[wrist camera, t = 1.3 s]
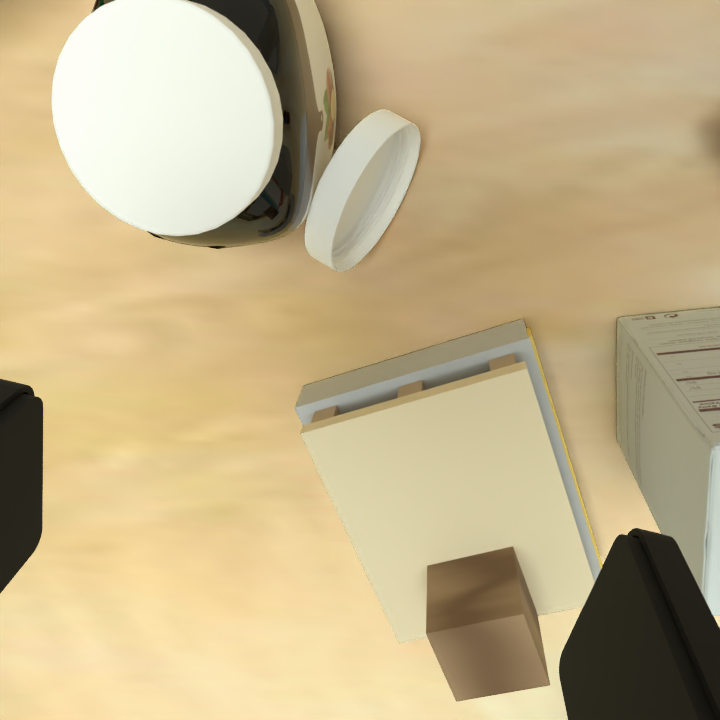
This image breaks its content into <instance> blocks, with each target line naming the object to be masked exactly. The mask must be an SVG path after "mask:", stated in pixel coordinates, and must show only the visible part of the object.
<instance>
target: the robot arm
mask: <svg viewBox="0 0 720 720" xmlns="http://www.w3.org/2000/svg"><path fill="white" fill-rule="evenodd" d="M42 490H43V402H42V400H41V399H40V398H39V397H35V396H34V391H33V389H32V388H31V387H30V386H28V385H24V384H20V383H16V382H11V381H7V380H3V379H0V593H1V592H2V591H3V589H4V588H5V587H6V586H7V584H8V583H9V582H10V581H11V580H12V578H13V577H14V576H15V575H16V573H17V572H18V571H19V570H20V568H21V567H22V566H23V565H24V563H25V562H26V561H27V560H28V558H29V557H30V556H31V555H32V554H33V552H34V551H35V549H36V547H37V545H38V543H39V540H40V538H41V534H42ZM559 675H560V681H561V686H562V691H563V696H564V701H565V706H566V711H567V716H568V720H720V629H719V627H718V625H717V623H716V621H715V619H714V617H713V615H712V613H711V611H710V609H709V607H708V604H707V602H706V600H705V598H704V596H703V594H702V592H701V590H700V588H699V586H698V584H697V582H696V580H695V578H694V576H693V574H692V572H691V570H690V568H689V566H688V564H687V562H686V560H685V558H684V556H683V554H682V552H681V550H680V548H679V546H678V544H677V542H676V541H675V539H674V538H673V537H671V536H668V535H663V534H659V533H655V532H651V531H646V530H642V529H638V528H635V529H632V530H631V531H630V532H629V533H628V535H623V534H621V535H619V536H618V537H617V538H616V539H615V541H614V543H613V545H612V547H611V549H610V552H609V554H608V556H607V558H606V560H605V562H604V564H603V566H602V568H601V571H600V573H599V575H598V577H597V579H596V581H595V583H594V585H593V588H592V590H591V592H590V594H589V596H588V598H587V600H586V602H585V605H584V607H583V609H582V611H581V613H580V615H579V617H578V619H577V622H576V624H575V626H574V628H573V630H572V632H571V634H570V636H569V639H568V641H567V643H566V645H565V647H564V649H563V651H562V654H561V658H560V664H559Z"/></svg>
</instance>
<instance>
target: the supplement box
mask: <svg viewBox="0 0 720 720" xmlns="http://www.w3.org/2000/svg"><path fill="white" fill-rule="evenodd" d="M617 442H618V444H619V446H620V448H621V450H622V452H623V454H624V456H625V459H626V461H627V463H628V465H629V467H630V469H631V471H632V473H633V475H634V477H635V479H636V481H637V483H638V486H639V488H640V490H641V492H642V494H643V496H644V498H645V500H646V502H647V504H648V507H649V509H650V511H651V513H652V515H653V517H654V519H655V521H656V523H657V526H658V528H659V530H660V532H661V534H663V535H668V536H671V537H673V538H674V539H675V541H676V542H677V544H678V546H679V548H680V550H681V552H682V554H683V556H684V558H685V560H686V562H687V564H688V566H689V568H690V570H691V572H692V574H693V576H694V578H695V580H696V582H697V584H698V586H699V588H700V590H701V592H702V594H703V596H704V598H705V600H706V602H707V604H708V607H709V609H710V611H711V613H712V615H713V616H720V307H718V308H708V309H696V310H685V311H676V312H665V313H655V314H645V315H635V316H626V317H620V318H618V320H617Z"/></svg>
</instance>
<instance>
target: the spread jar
mask: <svg viewBox="0 0 720 720" xmlns="http://www.w3.org/2000/svg"><path fill="white" fill-rule="evenodd" d="M51 104H52V113H53V122H54V127H55V131H56V134H57V138H58V141H59V145H60V148H61V150H62V152H63V154H64V156H65V159H66V161H67V163H68V165H69V167H70V169H71V171H72V172H73V173H74V175H75V176H76V178H77V179H78V181H79V182H80V184H81V185H82V186H83V188H84V189H85V190H86V191H87V192H88V193H89V194H90V195H91V196H92V197H93V198H94V200H95V201H96V202H97V203H98V204H99V205H100V206H102V207H103V208H104V209H106V210H107V211H108V212H110V213H111V214H113V215H114V216H115V217H117V218H118V219H120V220H122V221H124V222H126V223H128V224H130V225H132V226H134V227H136V228H138V229H142V230H145V231H147V232H149V233H150V234H152V235H153V236H155V237H158V238H161V239H165V240H169V241H173V242H177V243H181V244H186V245H193V246H202V247H210V248H216V249H220V248H229V247H238V246H247V245H254V244H259V243H264V242H268V241H273V240H276V239H278V238H281V237H283V236H285V235H287V234H289V233H291V232H292V231H294V230H296V229H297V228H298V227H299V226H300V225H301V224H302V223H303V222H304V221H305V219H306V218H307V220H306V225H305V235H304V239H305V247H306V249H307V252H308V254H309V255H310V256H312V257H313V258H315V259H316V260H318V261H320V262H321V263H323V264H325V265H326V266H328V267H330V268H331V269H333V270H335V271H336V272H344V271H347V270H349V269H351V268H352V267H354V266H355V265H357V264H358V263H359V262H360V261H361V260H362V259H363V258H364V257H365V256H366V255H367V254H368V253H369V252H370V251H371V249H372V248H373V247H374V246H375V244H376V243H377V242H378V240H379V239H380V238H381V236H382V235H383V233H384V232H385V230H386V229H387V227H388V226H389V224H390V222H391V221H392V219H393V217H394V216H395V214H396V212H397V210H398V208H399V206H400V204H401V202H402V200H403V198H404V196H405V194H406V192H407V189H408V187H409V185H410V182H411V180H412V177H413V174H414V171H415V168H416V165H417V161H418V157H419V151H420V144H421V138H420V132H419V128H418V127H417V126H416V125H415V124H414V123H412V122H410V121H408V120H406V119H404V118H402V117H400V116H399V115H397V114H395V113H393V112H391V111H389V110H385V109H381V110H378V111H374V112H373V113H371V114H369V115H368V116H366V117H365V118H364V119H363V120H362V121H360V122H359V123H358V124H357V125H356V126H355V127H354V128H353V130H352V131H351V132H350V133H349V134H348V135H347V136H346V138H345V139H344V141H343V142H342V143H341V145H340V146H339V147H338V149H337V150H336V152H335V154H334V155H333V157H332V153H333V147H334V139H335V128H336V87H335V78H334V70H333V64H332V58H331V53H330V48H329V44H328V40H327V35H326V32H325V28H324V25H323V22H322V19H321V16H320V13H319V11H318V8H317V5H316V3H315V1H314V0H96V2H95V4H94V7H93V9H92V12H91V14H90V15H88V16H87V17H86V18H84V19H83V20H82V22H81V23H80V24H79V25H78V26H77V27H76V29H75V30H74V31H73V32H72V33H71V35H70V36H69V38H68V39H67V41H66V43H65V45H64V47H63V49H62V51H61V53H60V55H59V58H58V62H57V65H56V69H55V73H54V76H53V84H52V99H51Z"/></svg>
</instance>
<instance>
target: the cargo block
mask: <svg viewBox="0 0 720 720" xmlns="http://www.w3.org/2000/svg"><path fill="white" fill-rule="evenodd" d="M426 635H427V637H428V639H429V642H430V644H431V646H432V648H433V651H434V653H435V655H436V657H437V659H438V662H439V664H440V666H441V668H442V671H443V673H444V675H445V677H446V680H447V682H448V684H449V686H450V688H451V691H452V693H453V695H454V697H455V700H456V701H462V700H468V699H474V698H479V697H485V696H491V695H497V694H502V693H508V692H514V691H520V690H525V689H531V688H537V687H543V686H548V685H550V683H549V677H548V672H547V666H546V661H545V655H544V649H543V644H542V638H541V633H540V627H539V621H538V616H537V611H536V608H535V606H534V603H533V600H532V597H531V595H530V592H529V589H528V586H527V584H526V581H525V578H524V575H523V573H522V570H521V567H520V564H519V562H518V559H517V556H516V553H515V551H514V548H513V546H512V547H507V548H503V549H499V550H494V551H490V552H485V553H481V554H476V555H472V556H468V557H463V558H459V559H454V560H450V561H446V562H441V563H437V564H432V565H428V566H427V605H426Z"/></svg>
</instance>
